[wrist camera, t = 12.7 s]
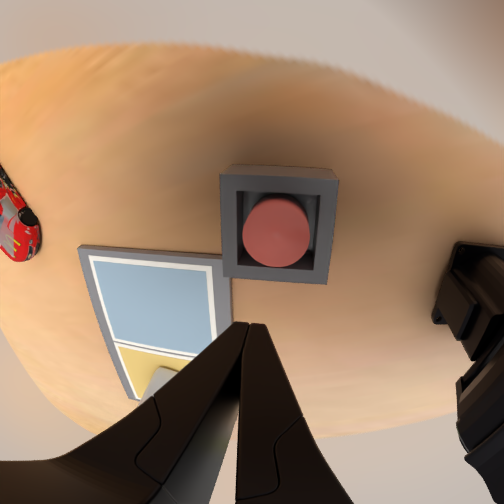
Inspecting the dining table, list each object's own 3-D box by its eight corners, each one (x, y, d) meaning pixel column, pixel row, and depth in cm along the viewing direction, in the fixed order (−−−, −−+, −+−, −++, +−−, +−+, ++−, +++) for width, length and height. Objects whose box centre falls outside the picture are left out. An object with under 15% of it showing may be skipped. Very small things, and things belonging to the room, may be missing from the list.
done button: (310, 195, 15) (312, 206, 13) (306, 252, 16) (306, 269, 15) (248, 192, 16) (242, 202, 14) (248, 248, 17) (242, 264, 15)
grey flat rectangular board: (230, 255, 19) (228, 260, 19) (237, 416, 27) (236, 421, 26) (81, 244, 21) (76, 248, 20) (130, 394, 28) (128, 398, 28)
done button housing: (331, 169, 16) (338, 180, 13) (322, 259, 18) (326, 284, 16) (232, 164, 17) (219, 174, 14) (233, 253, 19) (222, 277, 16)
